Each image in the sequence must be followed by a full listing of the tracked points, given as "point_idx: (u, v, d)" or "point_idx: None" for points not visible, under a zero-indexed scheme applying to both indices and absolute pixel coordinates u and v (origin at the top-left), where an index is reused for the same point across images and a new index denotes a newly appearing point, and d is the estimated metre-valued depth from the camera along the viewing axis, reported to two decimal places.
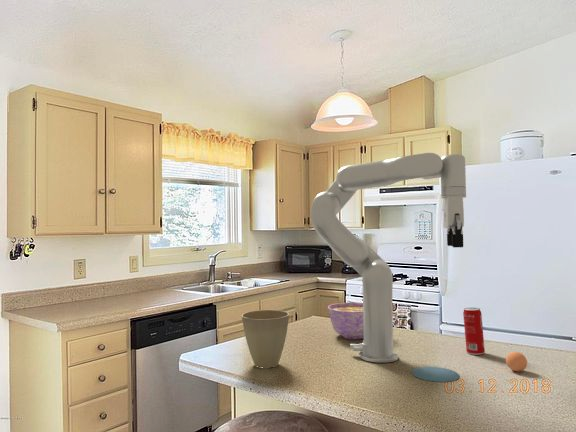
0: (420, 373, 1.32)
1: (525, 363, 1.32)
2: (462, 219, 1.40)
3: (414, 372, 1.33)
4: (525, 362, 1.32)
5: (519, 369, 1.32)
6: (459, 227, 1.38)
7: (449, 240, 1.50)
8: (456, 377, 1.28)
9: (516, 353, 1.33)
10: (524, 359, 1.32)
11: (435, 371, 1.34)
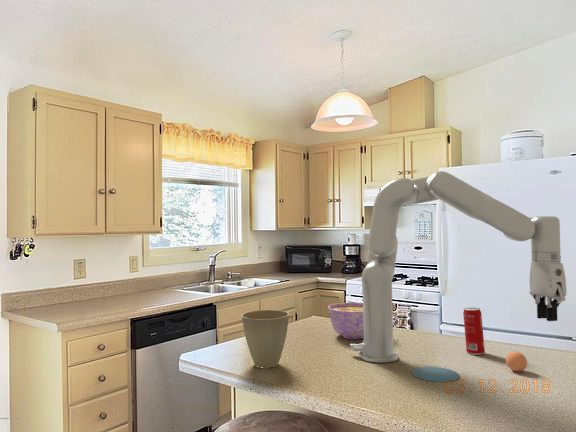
0: (420, 373, 1.32)
1: (525, 363, 1.32)
2: None
3: (414, 372, 1.33)
4: (525, 362, 1.32)
5: (519, 369, 1.32)
6: None
7: None
8: (456, 377, 1.28)
9: (516, 353, 1.33)
10: (524, 359, 1.32)
11: (435, 371, 1.34)
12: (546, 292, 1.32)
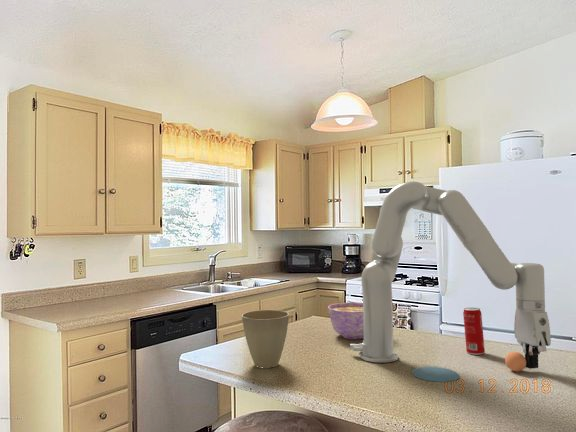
0: (420, 373, 1.32)
1: (524, 363, 1.32)
2: None
3: (414, 372, 1.33)
4: (524, 362, 1.32)
5: (518, 369, 1.32)
6: None
7: None
8: (456, 377, 1.28)
9: (515, 353, 1.33)
10: (523, 359, 1.32)
11: (435, 371, 1.34)
12: (530, 341, 1.31)
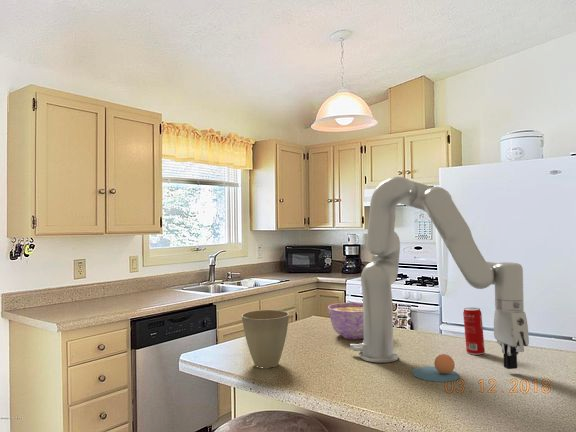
0: (420, 373, 1.32)
1: (448, 362, 1.30)
2: None
3: (414, 372, 1.33)
4: (447, 362, 1.30)
5: (452, 369, 1.30)
6: None
7: None
8: (456, 377, 1.28)
9: (436, 365, 1.31)
10: (444, 362, 1.30)
11: (435, 371, 1.34)
12: (508, 341, 1.30)
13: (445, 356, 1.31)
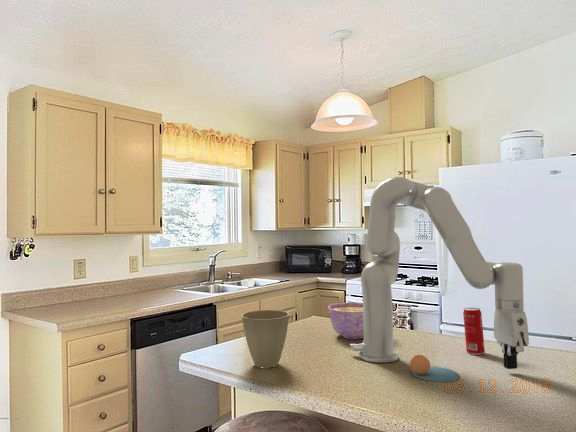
0: None
1: (421, 370, 1.29)
2: None
3: None
4: (421, 371, 1.29)
5: (419, 362, 1.30)
6: None
7: None
8: (456, 377, 1.28)
9: None
10: (423, 372, 1.30)
11: (435, 371, 1.34)
12: (508, 341, 1.30)
13: (417, 374, 1.31)
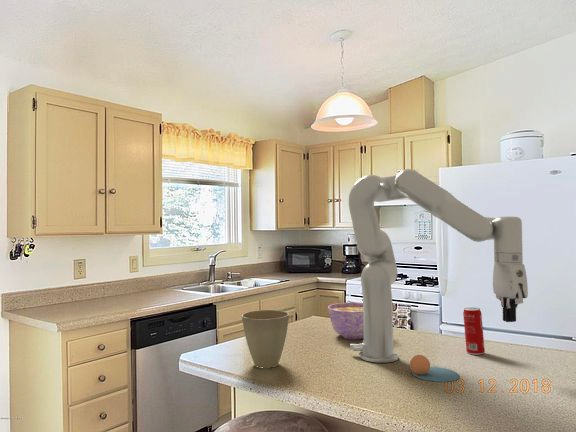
0: None
1: (421, 370, 1.29)
2: None
3: None
4: (421, 371, 1.29)
5: (419, 362, 1.30)
6: None
7: None
8: (456, 377, 1.28)
9: None
10: (423, 372, 1.30)
11: (435, 371, 1.34)
12: (507, 294, 1.30)
13: (417, 374, 1.31)
